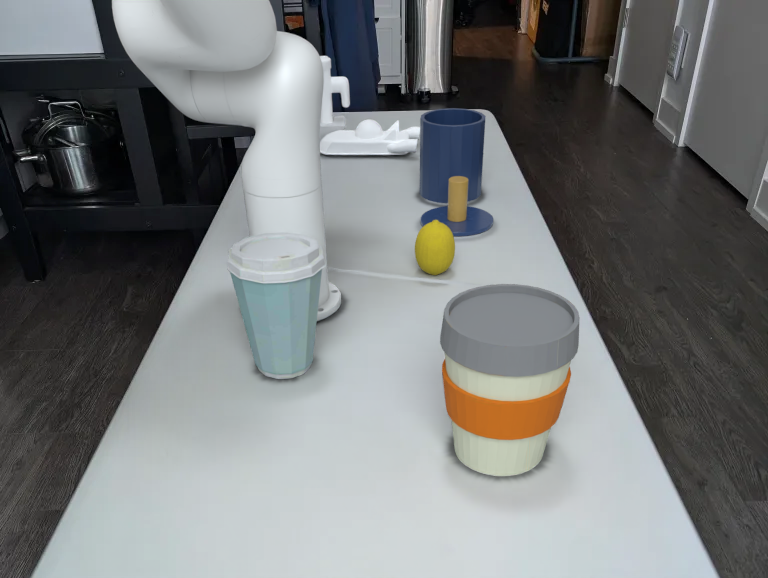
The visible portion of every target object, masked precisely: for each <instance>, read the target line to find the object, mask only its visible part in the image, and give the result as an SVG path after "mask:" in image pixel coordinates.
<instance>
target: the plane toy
mask: <svg viewBox="0 0 768 578" xmlns="http://www.w3.org/2000/svg"><path fill="white" fill-rule="evenodd" d="M418 140H419V141H420V126H410V127H407V128H405V129H403V130H400V119H398V120H396V121H395V122H393V124H392V125H391V126H390V127H389V128H388V129H386V130H383V127H382V126H381V124H380V123H378V122H377V120H374V119H372V118H371V119H370V118H369V119H368V118H367V119H364V120H362V121H360V122H359V123H358V124H357V126H356V128H355V129H344V130H338V131H334V132H331V133H329V134H327V135H326V136H325V137H324V138H323V139H322V140H321V142H320V154H323V155H327V156H398V155H400V156H401V155H402V156H403V155H407V154H409V153H416V152H417V148H418V147H417V145H418Z"/></svg>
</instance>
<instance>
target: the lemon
mask: <svg viewBox="0 0 768 578" xmlns="http://www.w3.org/2000/svg"><path fill="white" fill-rule="evenodd" d="M414 243H415V244H414V256H415V262H416V264H417V265H418V267H419V268H420V269H421V270H422V271H423V272H424V273H427V274H429V275H431V276H438V275H440V274H442V273H444V272H446V271H447V270H448V269H450V267H451V265H452V264H453V262H454V259H455V256H456V255H455V254H456V241H455V236H453V234H452V232H451V230H450V229H449V227H448V226H446V225H445V224H443V223H441V222H439V221H438V220H433V221H432V222H430V223H427V224H426V225H425V226H421V228H420V230H419V231H418V233H417V235H416V238H415V242H414Z"/></svg>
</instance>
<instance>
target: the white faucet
mask: <svg viewBox="0 0 768 578" xmlns="http://www.w3.org/2000/svg"><path fill="white" fill-rule="evenodd" d="M319 56H320V58H321V62H322V66H323V76H324V83H323V97H322V107H321V119H320V142H321V140H322V139H323V138H324V137H325V136H326V135H327V134H329V133H331V132H334V131H338V130H346V125H347V124H346V116H345V115H334V114H333V113H334V112H333V110H334V109H333V94H338V93H339V94H340V98H341V106H342V107H343V108H345V109H346V108H349V107H350V106H351V97H350V96H351V95H350V94H351V93H350V83H349V79H348V78H347V77H346V76H344V75H343V76H332V74H331V69H332V59H331V58H330V57H329V56H328V55H319Z"/></svg>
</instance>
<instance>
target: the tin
mask: <svg viewBox="0 0 768 578" xmlns="http://www.w3.org/2000/svg"><path fill="white" fill-rule="evenodd" d="M419 127H420V135H419V195H420V196H421V198H423V199H425V200H427V201H430V202H434V203H437V204H447V205H448V184H449V178H451V177H454V176H463V177H466V178H468V197H467V203H469V202H471V201H474V200H477V199H478V198H479V197H481V196H482V182H483V165H484V149H485V148H484V146H485V134H486V133H485V132H486V131H485V130H486V115H485V114H484V113H483V112H480V111H477V110H475V109H468V108H457V107H450V108H448V107H447V108H438V109H432V110H429V111H426V112H424V113H422V114H421V115H420V119H419Z"/></svg>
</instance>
